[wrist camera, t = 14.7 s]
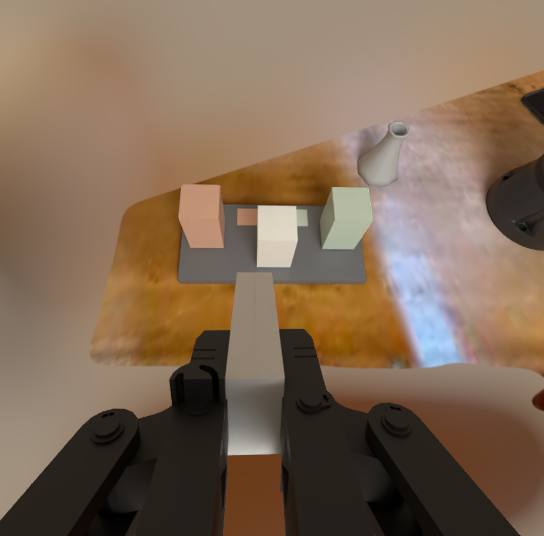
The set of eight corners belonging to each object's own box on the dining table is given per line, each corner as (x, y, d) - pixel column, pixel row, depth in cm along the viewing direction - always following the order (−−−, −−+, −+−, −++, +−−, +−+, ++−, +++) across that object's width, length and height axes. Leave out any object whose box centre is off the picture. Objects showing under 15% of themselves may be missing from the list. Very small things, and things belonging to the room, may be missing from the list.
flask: (351, 158, 61) (368, 114, 52) (387, 151, 62) (411, 107, 53) (365, 191, 59) (386, 151, 49) (403, 183, 60) (431, 143, 50)
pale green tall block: (350, 221, 54) (368, 187, 46) (353, 249, 52) (373, 220, 44) (319, 220, 54) (331, 187, 45) (321, 249, 52) (335, 219, 44)
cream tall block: (289, 237, 52) (296, 206, 44) (290, 267, 50) (297, 240, 42) (256, 237, 52) (257, 205, 44) (256, 267, 50) (257, 240, 42)
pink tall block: (225, 219, 53) (220, 184, 45) (223, 248, 51) (218, 217, 43) (192, 218, 53) (181, 184, 44) (190, 247, 51) (178, 217, 42)
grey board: (354, 211, 57) (357, 206, 55) (363, 284, 52) (366, 280, 51) (186, 208, 55) (184, 203, 54) (179, 283, 50) (177, 279, 49)
